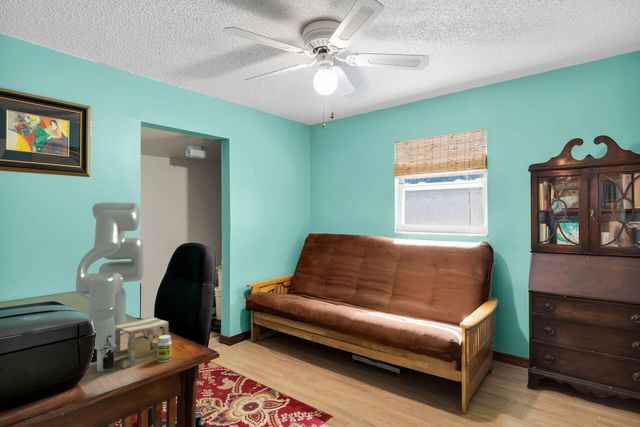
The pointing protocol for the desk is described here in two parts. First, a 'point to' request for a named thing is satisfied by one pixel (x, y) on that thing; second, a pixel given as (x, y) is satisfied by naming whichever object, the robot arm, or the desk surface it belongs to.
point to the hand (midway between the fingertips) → (102, 364)
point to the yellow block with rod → (140, 347)
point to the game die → (155, 332)
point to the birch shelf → (133, 329)
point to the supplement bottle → (164, 348)
